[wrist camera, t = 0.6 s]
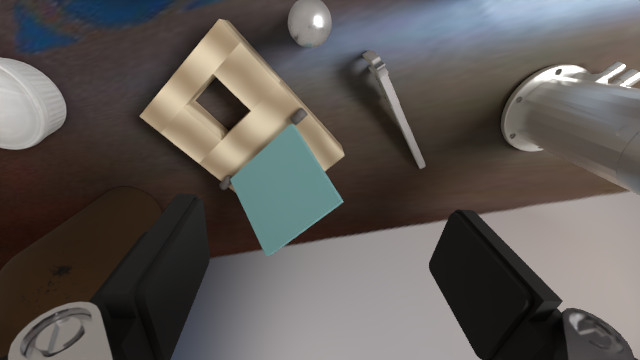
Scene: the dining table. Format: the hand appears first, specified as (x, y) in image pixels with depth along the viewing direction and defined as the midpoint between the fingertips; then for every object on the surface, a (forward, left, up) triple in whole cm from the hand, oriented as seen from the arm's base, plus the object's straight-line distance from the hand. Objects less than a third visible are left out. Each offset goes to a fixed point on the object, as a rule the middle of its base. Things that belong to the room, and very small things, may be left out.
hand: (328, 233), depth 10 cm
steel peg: (-5, -6, -30) cm, 31 cm away
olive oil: (+36, -6, -30) cm, 48 cm away
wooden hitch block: (+10, -2, -30) cm, 32 cm away
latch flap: (+10, +5, -21) cm, 24 cm away
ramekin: (+29, -25, -31) cm, 49 cm away
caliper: (-7, +11, -31) cm, 33 cm away
